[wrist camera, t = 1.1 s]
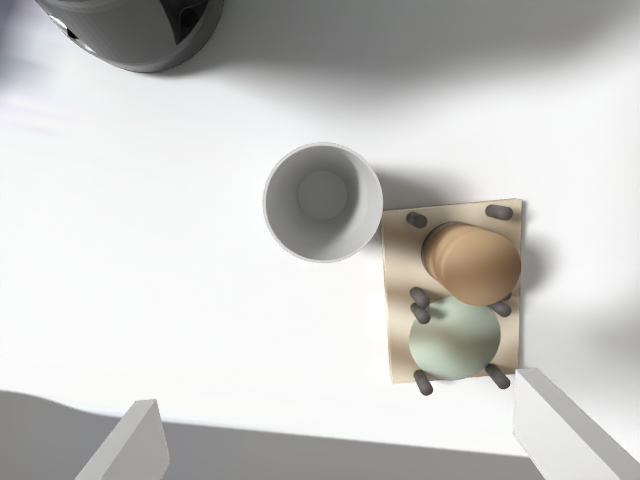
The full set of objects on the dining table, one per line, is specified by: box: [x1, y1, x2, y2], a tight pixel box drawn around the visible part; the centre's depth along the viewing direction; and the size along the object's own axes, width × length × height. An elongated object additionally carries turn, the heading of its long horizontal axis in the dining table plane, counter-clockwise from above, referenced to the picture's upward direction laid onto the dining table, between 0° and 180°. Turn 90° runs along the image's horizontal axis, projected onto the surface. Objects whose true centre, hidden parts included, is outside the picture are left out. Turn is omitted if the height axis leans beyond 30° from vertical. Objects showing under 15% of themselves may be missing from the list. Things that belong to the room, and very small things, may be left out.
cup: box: [263, 142, 383, 263], centre depth 27 cm, size 8×8×10 cm
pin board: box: [381, 198, 522, 396], centre depth 32 cm, size 18×13×4 cm
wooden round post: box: [421, 221, 521, 306], centre depth 29 cm, size 6×6×6 cm
